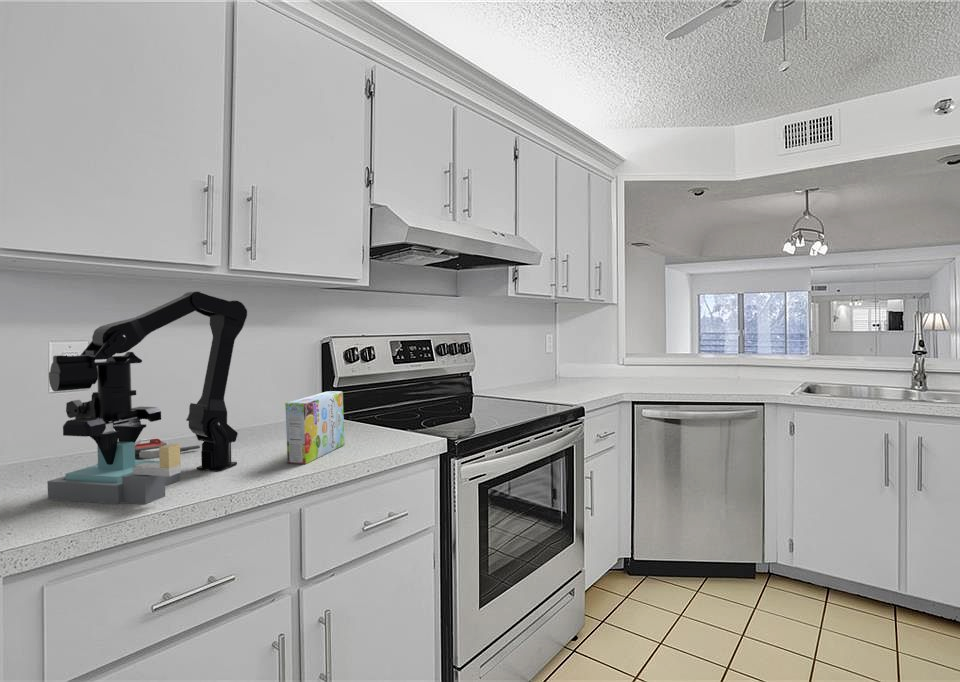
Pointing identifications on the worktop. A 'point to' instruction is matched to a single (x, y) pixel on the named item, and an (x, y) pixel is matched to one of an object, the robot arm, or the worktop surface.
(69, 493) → the tray
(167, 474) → the white yellow l-shaped block
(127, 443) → the cover
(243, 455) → the worktop surface
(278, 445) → the worktop surface
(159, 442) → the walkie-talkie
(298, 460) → the snack box
